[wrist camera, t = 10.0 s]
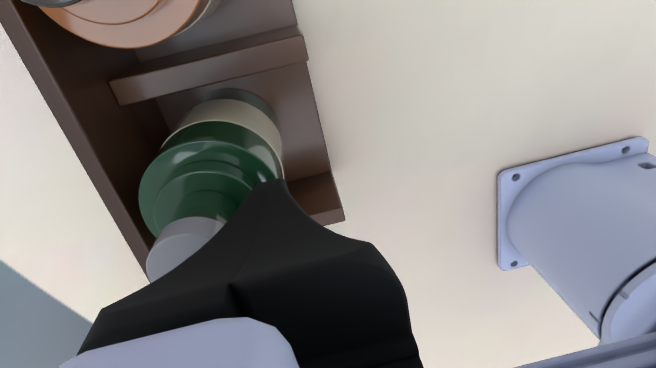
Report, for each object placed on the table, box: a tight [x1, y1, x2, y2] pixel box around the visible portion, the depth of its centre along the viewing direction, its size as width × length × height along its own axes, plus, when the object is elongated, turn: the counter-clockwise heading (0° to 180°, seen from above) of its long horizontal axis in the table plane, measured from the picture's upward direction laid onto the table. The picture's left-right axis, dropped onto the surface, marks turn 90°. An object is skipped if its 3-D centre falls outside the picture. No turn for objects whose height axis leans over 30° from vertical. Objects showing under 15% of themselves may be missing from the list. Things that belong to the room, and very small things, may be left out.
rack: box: [0, 0, 345, 283], centre depth 15 cm, size 8×16×8 cm, turn 12°
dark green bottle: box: [138, 89, 284, 283], centre depth 15 cm, size 5×5×10 cm
